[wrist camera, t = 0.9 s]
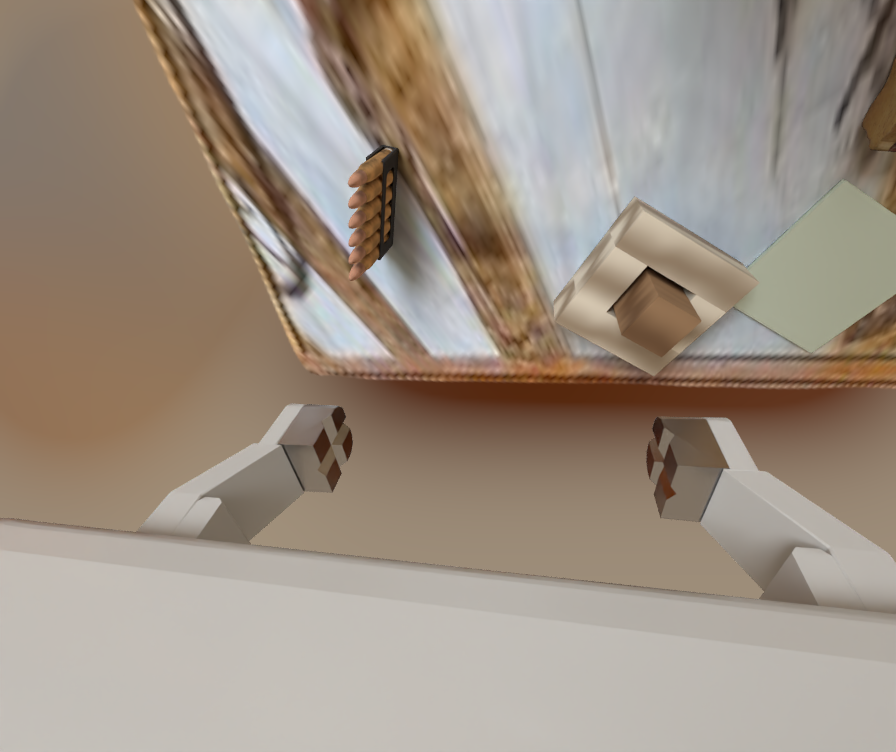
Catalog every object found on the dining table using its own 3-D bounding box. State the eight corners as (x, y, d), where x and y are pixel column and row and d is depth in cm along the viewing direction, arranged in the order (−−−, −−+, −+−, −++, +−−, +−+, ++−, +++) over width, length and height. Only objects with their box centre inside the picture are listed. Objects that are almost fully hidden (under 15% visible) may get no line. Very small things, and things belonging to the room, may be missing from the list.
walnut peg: (638, 254, 46) (658, 296, 38) (674, 275, 47) (701, 321, 39) (608, 289, 49) (621, 335, 41) (642, 309, 50) (661, 357, 42)
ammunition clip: (392, 245, 50) (359, 290, 41) (377, 242, 50) (341, 286, 41) (398, 148, 43) (360, 175, 34) (381, 144, 44) (338, 170, 34)
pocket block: (634, 196, 42) (644, 211, 38) (740, 262, 44) (759, 282, 41) (553, 301, 51) (554, 322, 47) (645, 352, 53) (654, 376, 49)
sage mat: (842, 178, 38) (845, 180, 38) (947, 252, 41) (951, 254, 40) (716, 295, 47) (718, 297, 47) (809, 351, 49) (811, 353, 49)
